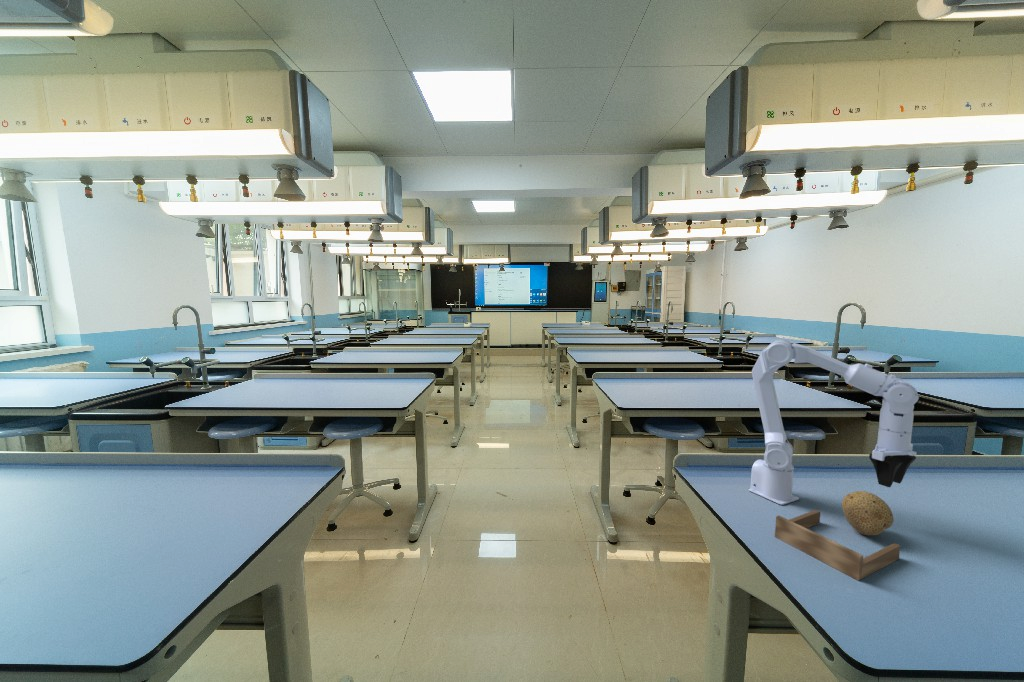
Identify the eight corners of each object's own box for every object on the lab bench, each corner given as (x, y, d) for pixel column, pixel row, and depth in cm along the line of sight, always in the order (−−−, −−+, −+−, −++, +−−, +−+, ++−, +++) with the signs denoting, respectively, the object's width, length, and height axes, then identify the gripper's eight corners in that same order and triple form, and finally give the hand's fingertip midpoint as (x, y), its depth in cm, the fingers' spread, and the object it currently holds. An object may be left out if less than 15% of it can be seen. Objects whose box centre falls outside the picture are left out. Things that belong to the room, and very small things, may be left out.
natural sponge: (861, 521, 98) (865, 483, 97) (902, 542, 89) (906, 500, 88) (830, 524, 96) (833, 485, 95) (868, 546, 87) (873, 504, 87)
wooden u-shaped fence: (774, 536, 91) (776, 516, 91) (815, 521, 98) (816, 502, 97) (858, 580, 77) (860, 556, 76) (898, 558, 83) (901, 536, 83)
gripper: (902, 438, 88) (896, 496, 89) (931, 430, 94) (926, 484, 95) (863, 429, 94) (858, 483, 95) (893, 422, 100) (888, 473, 101)
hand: (889, 483), depth 96 cm, fingers open, 4 cm apart
